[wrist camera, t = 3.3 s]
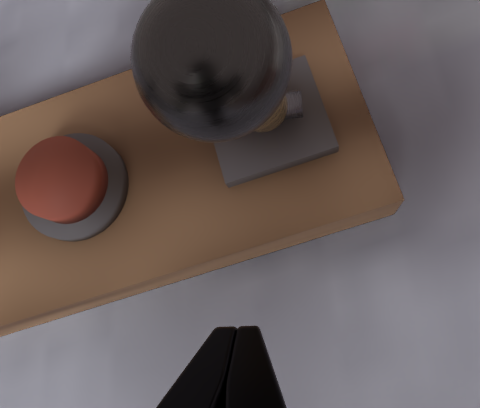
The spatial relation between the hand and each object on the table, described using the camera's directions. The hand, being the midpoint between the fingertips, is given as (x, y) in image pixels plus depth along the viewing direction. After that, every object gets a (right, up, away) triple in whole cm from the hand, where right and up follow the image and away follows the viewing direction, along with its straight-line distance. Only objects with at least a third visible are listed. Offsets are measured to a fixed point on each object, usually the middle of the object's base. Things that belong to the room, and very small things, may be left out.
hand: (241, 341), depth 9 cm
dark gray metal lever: (+1, +6, +8) cm, 10 cm away
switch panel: (-6, +3, +13) cm, 14 cm away
